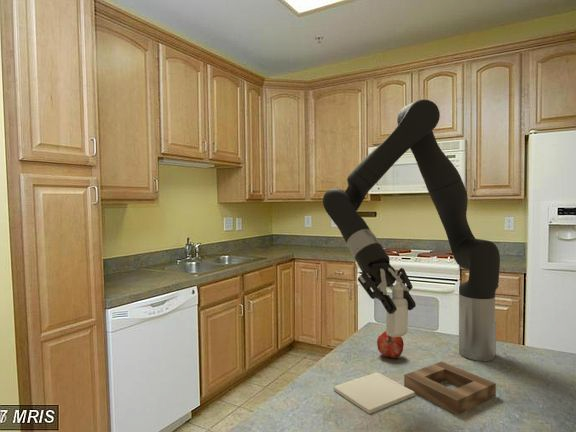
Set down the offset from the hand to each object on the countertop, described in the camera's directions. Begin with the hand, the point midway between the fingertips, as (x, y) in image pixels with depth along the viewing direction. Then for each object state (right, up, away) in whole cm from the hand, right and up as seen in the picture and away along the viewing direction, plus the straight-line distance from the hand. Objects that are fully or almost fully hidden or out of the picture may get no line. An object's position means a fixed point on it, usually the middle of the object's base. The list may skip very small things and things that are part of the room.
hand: (403, 309), depth 86 cm
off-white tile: (-6, -20, +2) cm, 21 cm away
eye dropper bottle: (-1, -6, +2) cm, 7 cm away
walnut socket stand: (+11, -19, +2) cm, 23 cm away
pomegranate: (+3, -19, +23) cm, 30 cm away
